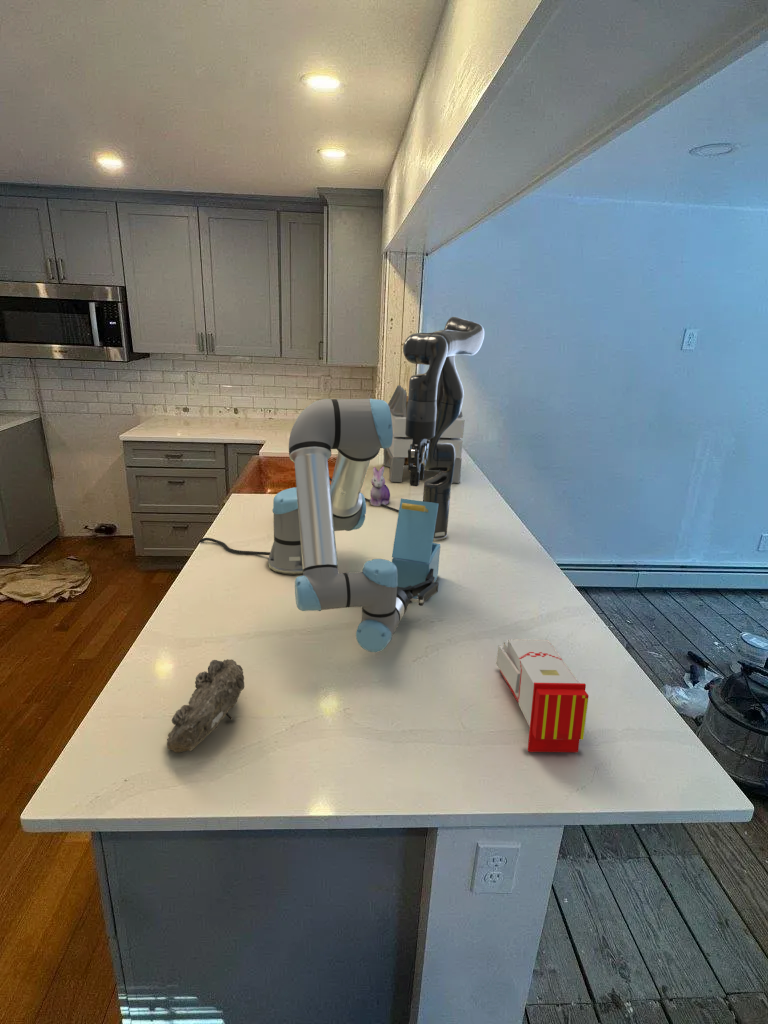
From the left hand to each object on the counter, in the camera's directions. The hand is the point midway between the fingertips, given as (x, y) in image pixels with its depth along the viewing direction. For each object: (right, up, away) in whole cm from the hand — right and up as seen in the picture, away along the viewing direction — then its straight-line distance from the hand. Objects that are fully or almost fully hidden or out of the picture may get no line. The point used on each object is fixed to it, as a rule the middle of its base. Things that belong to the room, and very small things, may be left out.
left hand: (412, 569), depth 157 cm
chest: (+1, -5, +7) cm, 9 cm away
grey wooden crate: (+10, +35, +118) cm, 124 cm away
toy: (+22, -23, -41) cm, 52 cm away
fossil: (-41, -23, -48) cm, 67 cm away
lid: (+1, +11, -3) cm, 11 cm away
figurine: (-10, +19, +74) cm, 77 cm away
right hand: (+1, +24, -9) cm, 25 cm away
